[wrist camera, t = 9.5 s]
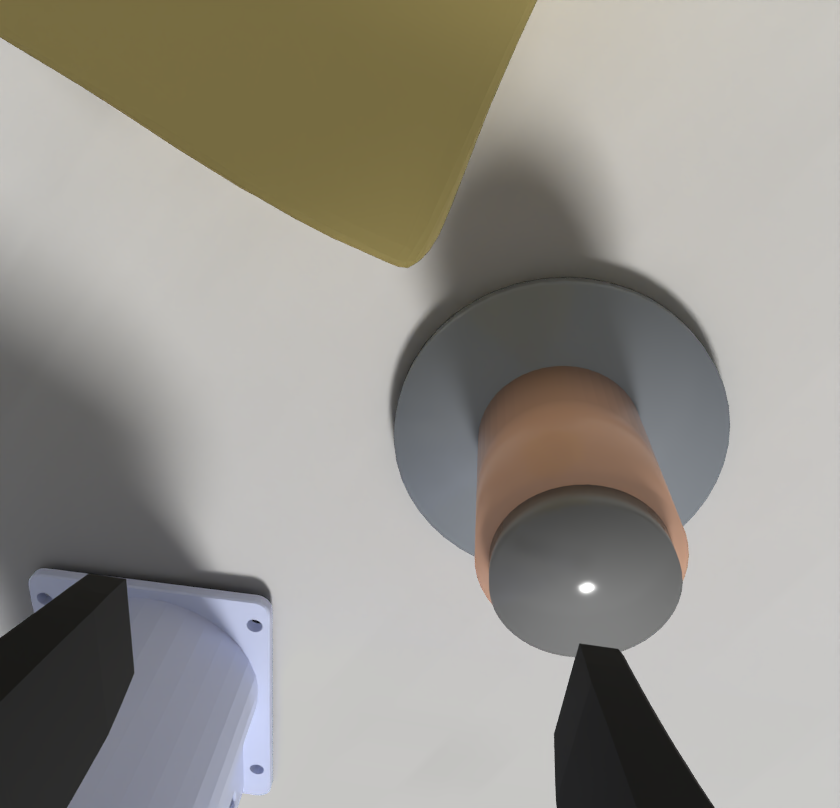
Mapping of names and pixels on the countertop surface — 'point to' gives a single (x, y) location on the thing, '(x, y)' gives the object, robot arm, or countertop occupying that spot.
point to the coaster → (546, 347)
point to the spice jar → (574, 515)
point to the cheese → (299, 96)
